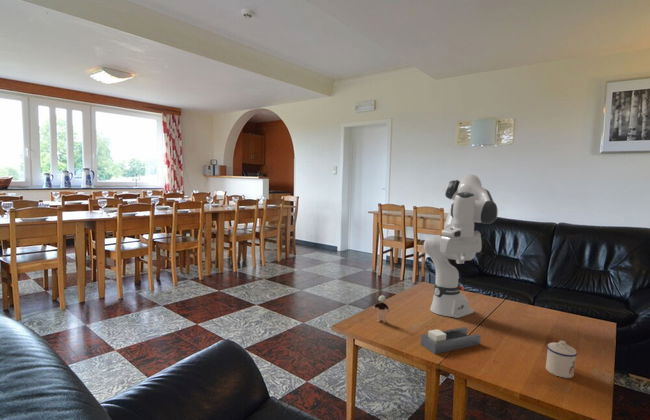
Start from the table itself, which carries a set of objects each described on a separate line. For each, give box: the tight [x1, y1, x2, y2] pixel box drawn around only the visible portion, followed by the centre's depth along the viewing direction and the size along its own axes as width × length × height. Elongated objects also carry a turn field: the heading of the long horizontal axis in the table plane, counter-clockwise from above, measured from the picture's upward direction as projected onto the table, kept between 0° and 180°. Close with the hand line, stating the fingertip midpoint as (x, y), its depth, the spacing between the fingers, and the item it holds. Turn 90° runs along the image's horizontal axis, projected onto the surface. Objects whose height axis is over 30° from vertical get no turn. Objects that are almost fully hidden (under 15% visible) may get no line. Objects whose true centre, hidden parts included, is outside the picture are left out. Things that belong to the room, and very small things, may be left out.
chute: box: [420, 326, 482, 355], centre depth 150 cm, size 24×9×4 cm, turn 114°
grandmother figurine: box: [372, 294, 390, 324], centre depth 171 cm, size 8×4×13 cm, turn 84°
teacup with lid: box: [545, 340, 578, 379], centre depth 132 cm, size 12×9×12 cm
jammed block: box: [427, 328, 446, 342], centre depth 147 cm, size 5×5×5 cm
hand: (460, 263), depth 153 cm, fingers closed
